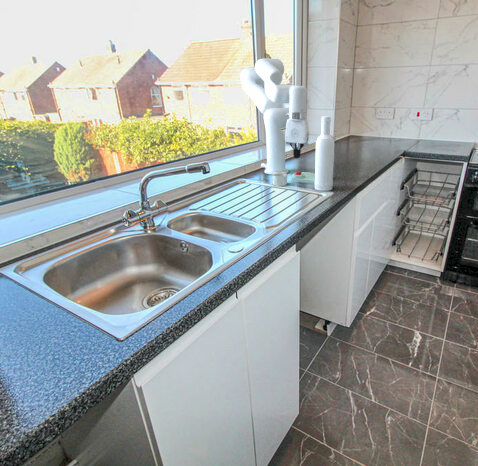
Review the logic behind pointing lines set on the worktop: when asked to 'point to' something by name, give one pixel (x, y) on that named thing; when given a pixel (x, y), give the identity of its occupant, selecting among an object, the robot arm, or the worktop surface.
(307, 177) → the scale
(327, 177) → the bottle
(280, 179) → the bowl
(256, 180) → the worktop surface
